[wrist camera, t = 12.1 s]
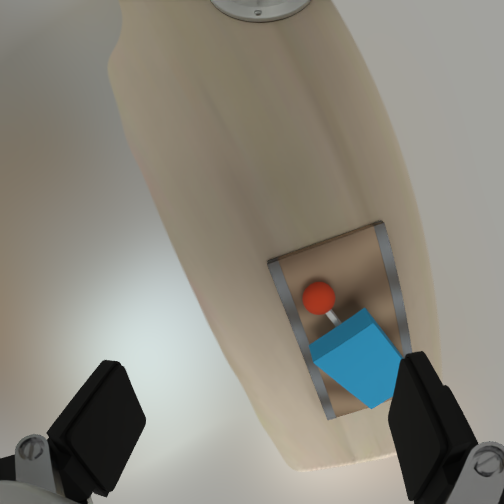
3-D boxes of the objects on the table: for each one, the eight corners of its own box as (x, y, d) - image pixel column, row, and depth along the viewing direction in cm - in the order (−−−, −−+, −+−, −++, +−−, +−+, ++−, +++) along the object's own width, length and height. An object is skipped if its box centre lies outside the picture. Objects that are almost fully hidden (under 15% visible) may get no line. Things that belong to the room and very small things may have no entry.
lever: (397, 343, 38) (332, 259, 31) (417, 380, 32) (355, 300, 25) (356, 370, 40) (280, 298, 33) (371, 409, 34) (290, 343, 27)
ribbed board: (267, 260, 34) (267, 264, 33) (380, 220, 31) (384, 222, 30) (327, 414, 39) (327, 420, 37) (414, 384, 36) (416, 390, 35)
